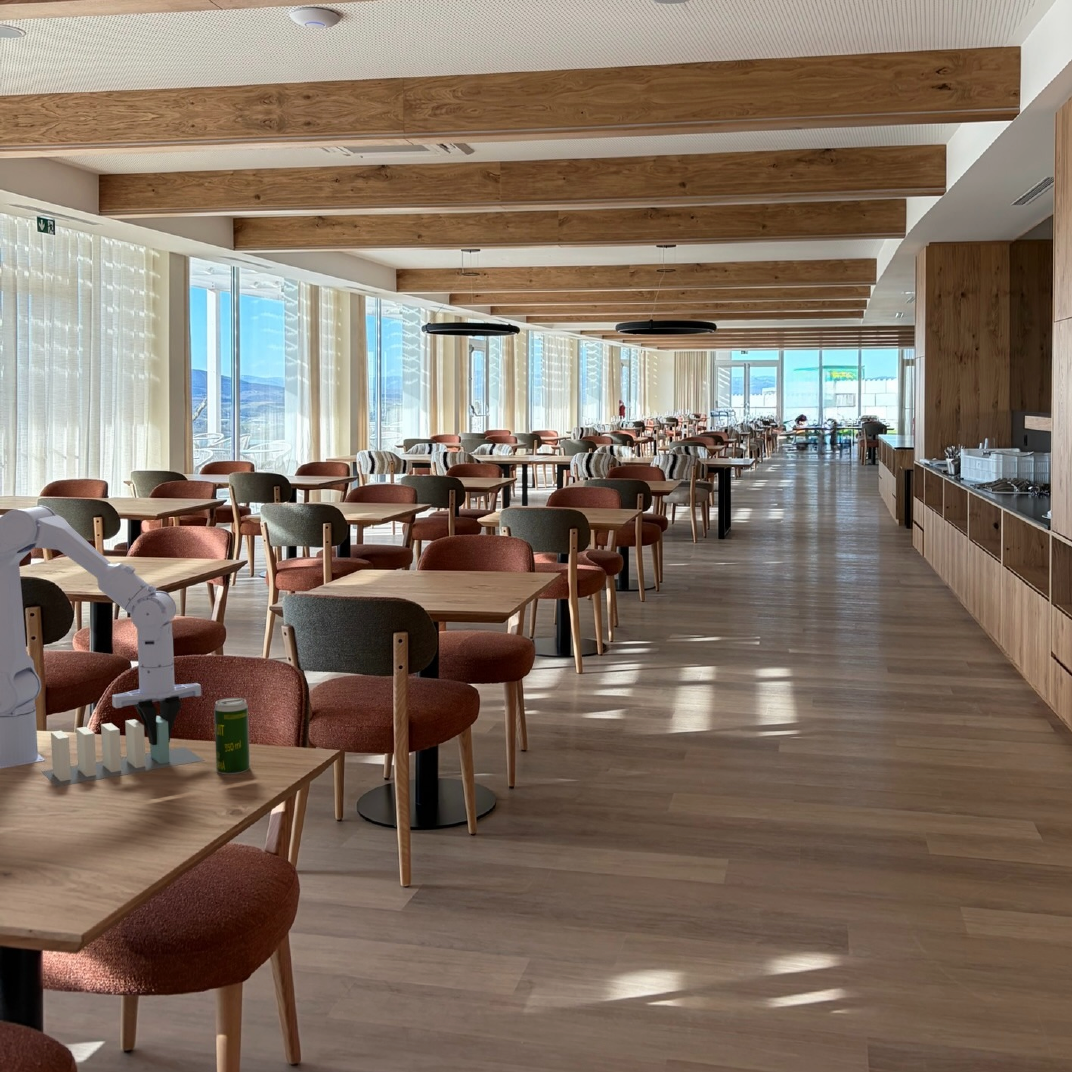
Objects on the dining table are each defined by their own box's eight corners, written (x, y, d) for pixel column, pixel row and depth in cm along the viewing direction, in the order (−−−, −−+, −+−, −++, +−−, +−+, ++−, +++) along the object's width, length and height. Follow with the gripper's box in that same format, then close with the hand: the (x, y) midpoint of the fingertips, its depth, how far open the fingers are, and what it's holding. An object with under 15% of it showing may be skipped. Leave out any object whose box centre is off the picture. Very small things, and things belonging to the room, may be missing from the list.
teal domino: (160, 763, 198) (158, 723, 197) (150, 756, 202) (149, 717, 201) (169, 762, 199) (168, 721, 198) (160, 755, 203) (158, 715, 202)
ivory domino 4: (135, 768, 196) (134, 726, 195) (127, 760, 200) (125, 720, 199) (145, 766, 197) (143, 725, 196) (136, 759, 201) (134, 719, 200)
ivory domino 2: (86, 776, 191) (84, 734, 190) (78, 769, 195) (76, 728, 194) (96, 775, 192) (94, 733, 191) (88, 767, 196) (86, 726, 195)
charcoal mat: (41, 774, 194) (41, 771, 194) (184, 749, 208) (184, 747, 208) (56, 789, 186) (56, 786, 186) (204, 763, 200) (204, 760, 200)
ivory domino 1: (60, 781, 189) (58, 738, 188) (52, 773, 193) (50, 732, 192) (70, 779, 190) (68, 737, 189) (63, 771, 194) (61, 730, 193)
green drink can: (242, 765, 198) (239, 696, 197) (255, 773, 194) (253, 702, 193) (211, 771, 195) (208, 700, 194) (224, 779, 191) (221, 707, 190)
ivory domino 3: (111, 772, 193) (109, 730, 193) (102, 765, 197) (101, 724, 197) (121, 770, 194) (119, 729, 194) (112, 763, 198) (110, 722, 198)
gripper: (119, 674, 191) (123, 755, 193) (206, 662, 200) (209, 740, 201) (107, 666, 197) (110, 745, 198) (192, 656, 205) (194, 731, 207)
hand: (159, 742), depth 200 cm, fingers closed on teal domino, 2 cm apart
